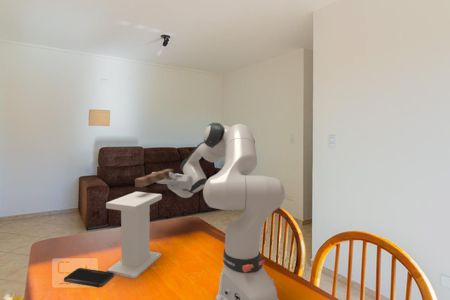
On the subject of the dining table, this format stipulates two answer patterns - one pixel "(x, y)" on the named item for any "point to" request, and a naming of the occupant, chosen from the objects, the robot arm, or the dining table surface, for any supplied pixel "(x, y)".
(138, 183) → the walnut bar
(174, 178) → the robot arm
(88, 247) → the dining table surface
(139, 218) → the pedestal
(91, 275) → the phone
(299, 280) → the dining table surface
